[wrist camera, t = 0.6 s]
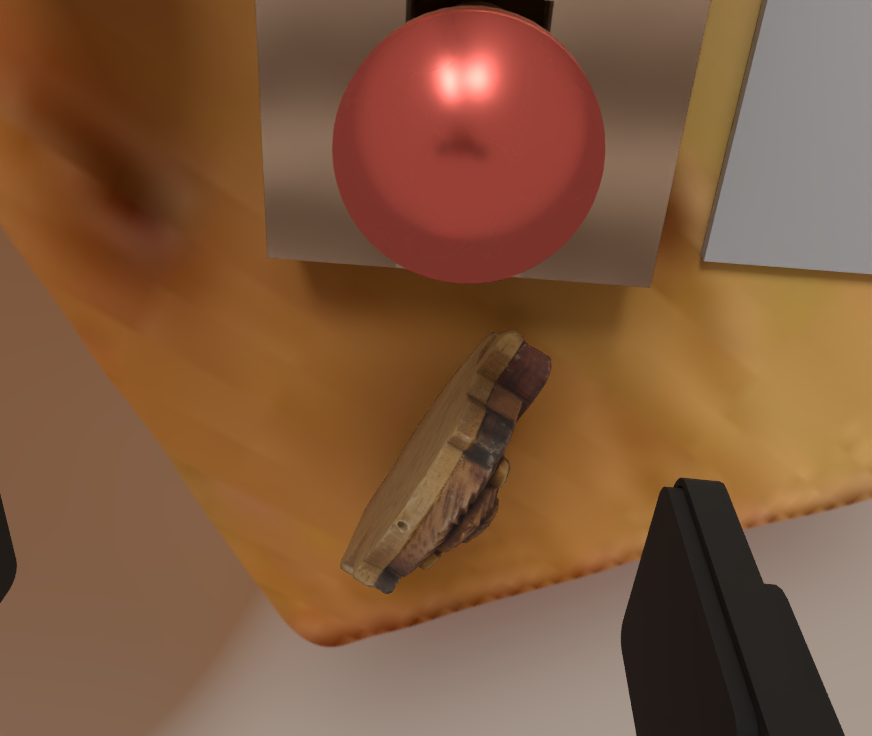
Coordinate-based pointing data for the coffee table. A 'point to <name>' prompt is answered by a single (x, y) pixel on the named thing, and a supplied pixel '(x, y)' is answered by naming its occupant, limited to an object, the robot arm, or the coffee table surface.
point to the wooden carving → (449, 465)
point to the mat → (800, 143)
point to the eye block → (582, 36)
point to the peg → (469, 144)
